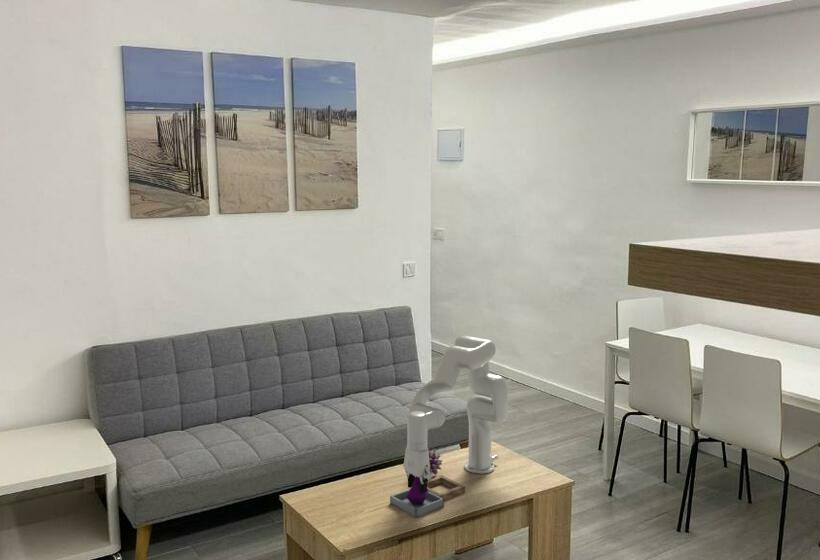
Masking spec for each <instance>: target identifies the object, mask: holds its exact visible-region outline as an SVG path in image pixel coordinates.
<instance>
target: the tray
mask: <svg viewBox="0 0 820 560" xmlns="http://www.w3.org/2000/svg"><path fill="white" fill-rule="evenodd" d="M410 489H411V488H408V489H406V490H404V491H400V492H398V493H395V494H393V495H390V497H389V503H390V505H392V506H394V507H396V508H398V509H399V510H401V511H403V512H404V513H407V514H408V515H410V516H412V517H414V518H420V517H422V516H424V515H426V514H429V513H431V512H433V511H436V510H438V509H439V510H440V509H441V508H444V507H445V500H444V499H443V498H441V497H439V496H437V495H435V494H433V493H431V492H428V494H427V496H426V498H425V500H424V502H423V504H412V503H411V502H410V501H409V500H408V499H407V498H406V496H407V494H408V493H409V491H410Z"/></svg>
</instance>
